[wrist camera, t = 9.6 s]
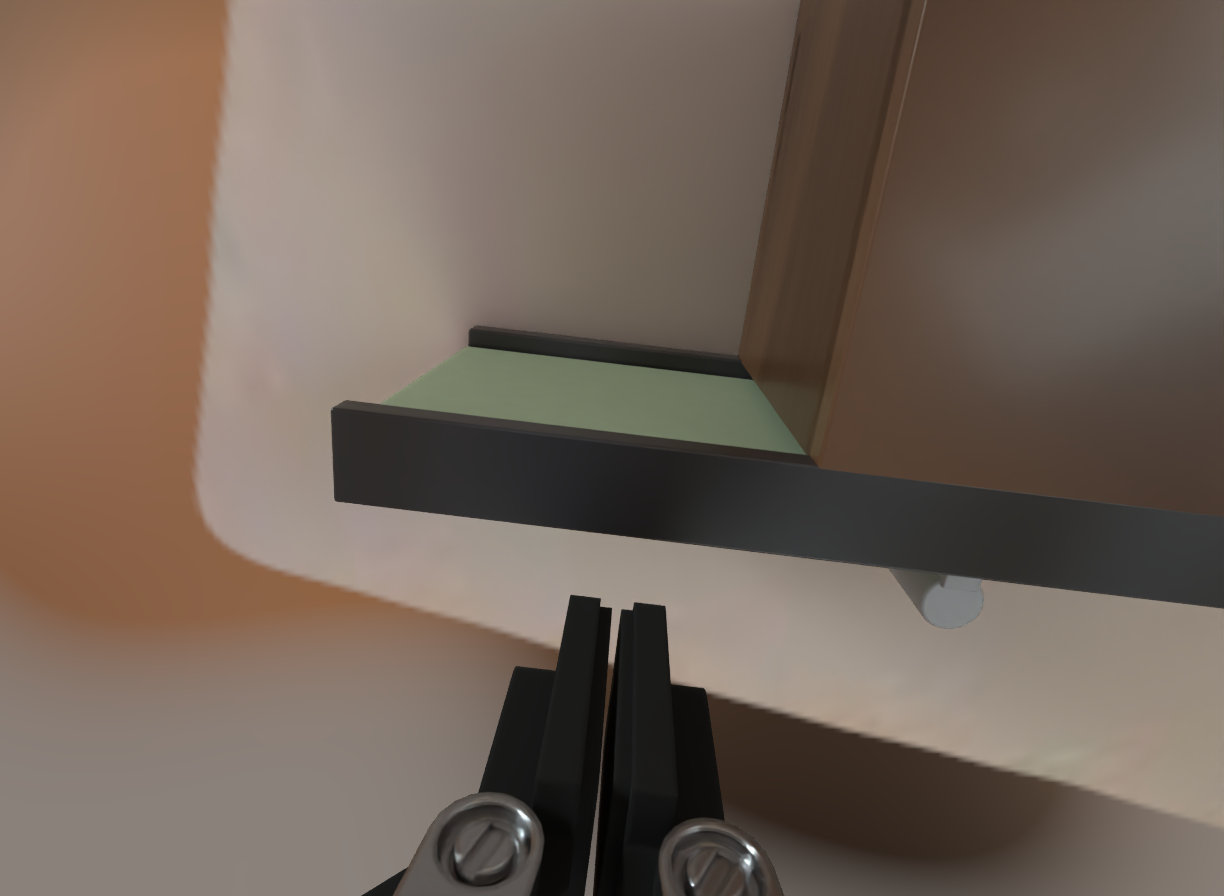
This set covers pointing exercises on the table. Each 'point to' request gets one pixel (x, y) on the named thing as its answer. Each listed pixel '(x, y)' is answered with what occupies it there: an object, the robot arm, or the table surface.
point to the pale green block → (645, 424)
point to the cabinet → (928, 320)
